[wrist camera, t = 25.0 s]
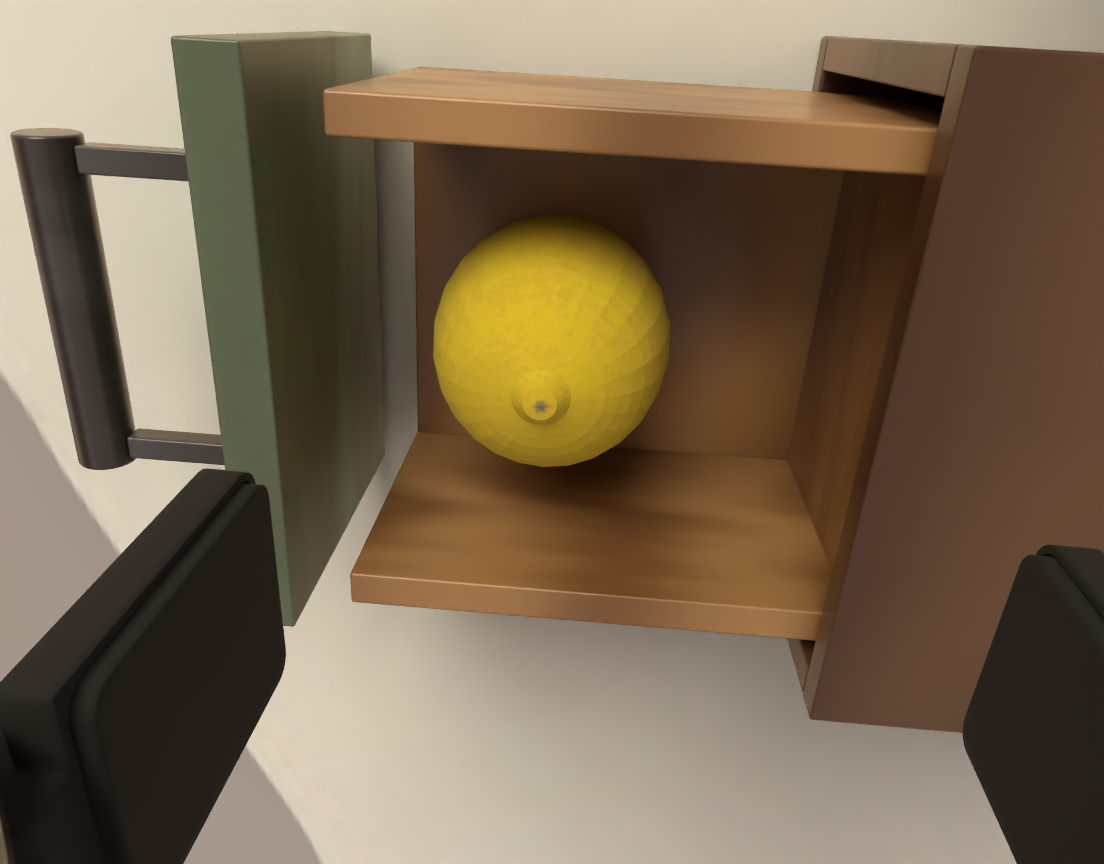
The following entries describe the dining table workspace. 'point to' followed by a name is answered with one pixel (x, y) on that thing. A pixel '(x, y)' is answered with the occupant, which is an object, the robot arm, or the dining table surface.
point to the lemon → (551, 341)
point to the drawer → (440, 244)
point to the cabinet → (970, 378)
